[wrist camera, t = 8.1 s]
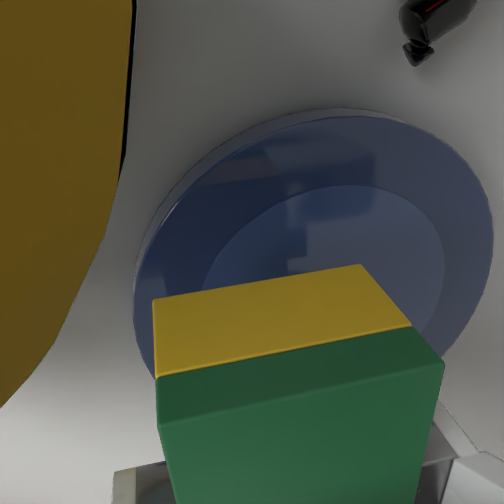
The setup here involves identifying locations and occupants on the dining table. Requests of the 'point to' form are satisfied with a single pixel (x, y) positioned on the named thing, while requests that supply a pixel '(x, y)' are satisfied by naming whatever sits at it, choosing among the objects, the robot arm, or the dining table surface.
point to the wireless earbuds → (430, 24)
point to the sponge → (293, 392)
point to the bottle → (56, 160)
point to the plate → (325, 218)
